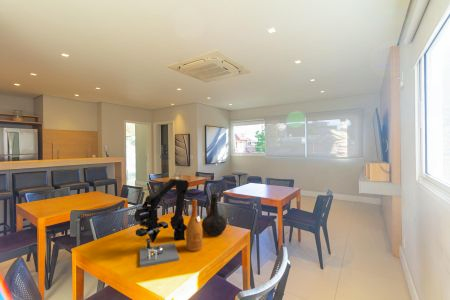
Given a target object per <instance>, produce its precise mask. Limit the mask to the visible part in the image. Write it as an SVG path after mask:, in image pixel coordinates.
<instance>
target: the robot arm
mask: <svg viewBox="0 0 450 300" xmlns="http://www.w3.org/2000/svg"><path fill="white" fill-rule="evenodd" d="M174 187H175V189H176V193H177V194H176V202H175V210H174V214H173V216H171V217H170V222H169V223H170V226H171V228H172V230H173V239H174V240H175V242H177V241H186V234H185V232H186V229H187V225H186V224H185V219H184V216H183V211H184V204H185V203H184V202H185V194H186V192H187V191H188V189H189V181H188V180H187V179H176V178H171V179H169V180H168V181H167V182H166V183H165V184H164V185H162V186H161V187H160V188H159V189H158V190H156V191H155V192H152V193H150V194H149V195H147V196H146V197H145V200H144V201H143V203H142V205H141V208H136V211H135V212H134V215H133V216H134V217H133V219H134V220H135V221H136V223H137V222H138V224H139V227H141V228H137V229H136V230H135V235H136V236H138V237H140V238H141V237H145V236H147V235H148V237H149V238H150V243H152V244H154V242H155V241H156V239H157V237H158V235H159V233H160V232H161V230H160V228H163V229H164V230H165V229H167V228H169V223H168V222H166V221H159V220H160V219H159V218H158V209H161V206H160V205H159V204H160V202H162V198H163V197H164V196H165V195H166V194H168V192H169V191H170V190H172V189H173V188H174ZM158 221H159V222H158ZM144 227H145V228H144Z"/></svg>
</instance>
